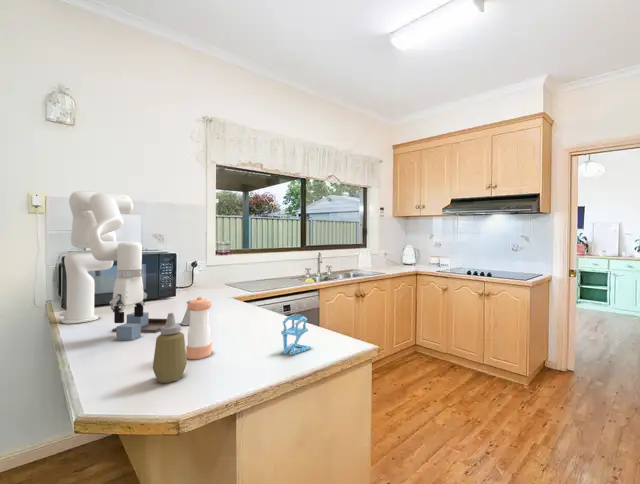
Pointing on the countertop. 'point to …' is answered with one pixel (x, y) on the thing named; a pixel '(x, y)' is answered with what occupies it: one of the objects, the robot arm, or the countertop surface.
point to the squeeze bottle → (169, 352)
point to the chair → (294, 334)
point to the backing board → (151, 325)
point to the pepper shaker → (199, 329)
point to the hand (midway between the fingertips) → (129, 319)
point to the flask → (186, 316)
